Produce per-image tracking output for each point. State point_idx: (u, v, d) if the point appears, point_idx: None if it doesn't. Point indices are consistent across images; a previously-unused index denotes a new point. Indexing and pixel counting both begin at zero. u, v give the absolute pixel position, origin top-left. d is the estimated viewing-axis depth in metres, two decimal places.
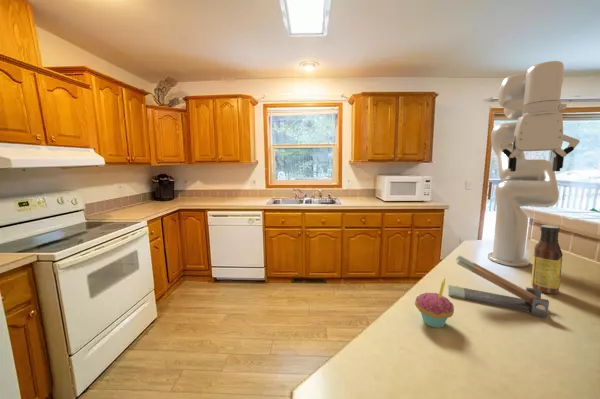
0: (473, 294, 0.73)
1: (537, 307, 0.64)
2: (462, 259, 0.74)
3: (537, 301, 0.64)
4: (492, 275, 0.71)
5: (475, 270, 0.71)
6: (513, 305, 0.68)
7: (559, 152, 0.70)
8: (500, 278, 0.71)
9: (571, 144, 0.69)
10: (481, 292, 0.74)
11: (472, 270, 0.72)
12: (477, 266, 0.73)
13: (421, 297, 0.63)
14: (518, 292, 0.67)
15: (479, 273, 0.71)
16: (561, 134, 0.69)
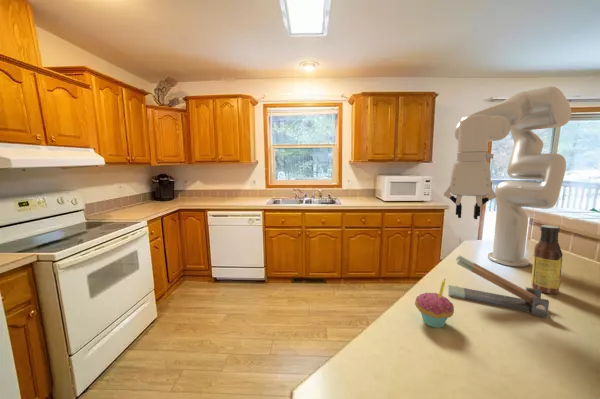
0: (473, 294, 0.73)
1: (537, 307, 0.64)
2: (462, 259, 0.74)
3: (537, 301, 0.64)
4: (492, 275, 0.71)
5: (475, 270, 0.71)
6: (513, 305, 0.68)
7: (478, 201, 0.76)
8: (500, 278, 0.71)
9: (489, 196, 0.75)
10: (481, 292, 0.74)
11: (472, 270, 0.72)
12: (477, 266, 0.73)
13: (421, 297, 0.63)
14: (518, 292, 0.67)
15: (479, 273, 0.71)
16: (488, 182, 0.73)
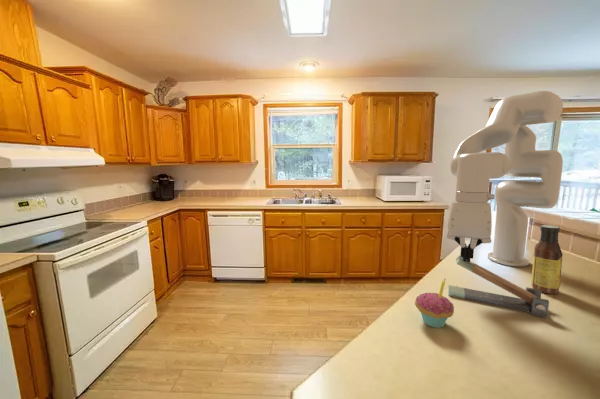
0: (473, 294, 0.73)
1: (537, 307, 0.64)
2: (462, 259, 0.74)
3: (537, 301, 0.64)
4: (492, 275, 0.71)
5: (475, 270, 0.71)
6: (513, 305, 0.68)
7: (472, 243, 0.71)
8: (500, 278, 0.71)
9: (483, 239, 0.70)
10: (481, 292, 0.74)
11: (472, 270, 0.72)
12: (477, 266, 0.73)
13: (421, 297, 0.63)
14: (518, 292, 0.67)
15: (479, 273, 0.71)
16: (489, 225, 0.68)
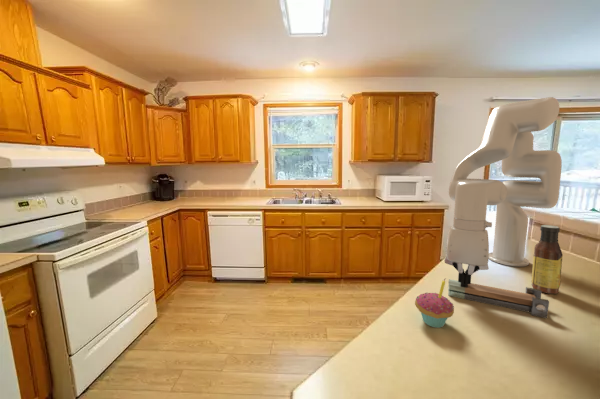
0: (473, 294, 0.73)
1: (537, 307, 0.64)
2: (452, 283, 0.76)
3: (537, 301, 0.64)
4: (485, 289, 0.72)
5: (468, 290, 0.73)
6: (513, 305, 0.68)
7: (470, 269, 0.72)
8: (494, 289, 0.72)
9: (481, 266, 0.71)
10: None
11: (465, 291, 0.73)
12: (468, 285, 0.75)
13: (421, 297, 0.63)
14: (514, 298, 0.68)
15: (472, 292, 0.72)
16: (486, 253, 0.69)
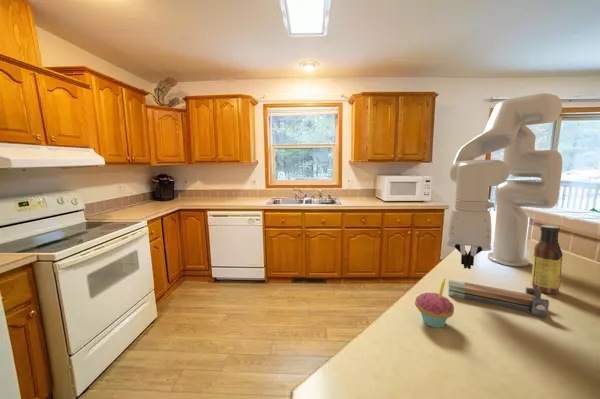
0: None
1: (537, 307, 0.64)
2: (452, 283, 0.76)
3: (537, 301, 0.64)
4: (485, 289, 0.72)
5: (468, 290, 0.73)
6: (513, 305, 0.68)
7: (472, 250, 0.72)
8: (494, 289, 0.72)
9: (483, 247, 0.71)
10: None
11: (465, 291, 0.73)
12: (468, 285, 0.75)
13: (421, 297, 0.63)
14: (514, 298, 0.68)
15: (472, 292, 0.72)
16: (489, 233, 0.69)
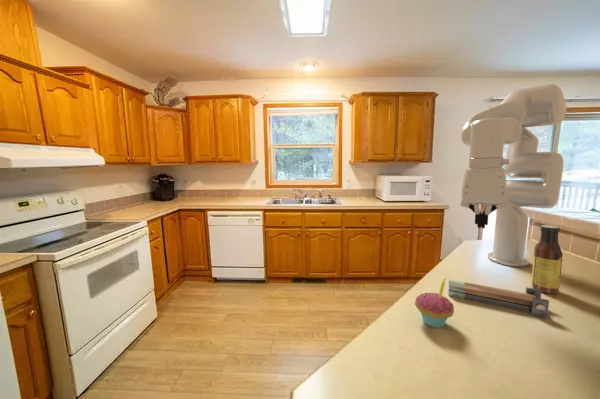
0: None
1: (537, 307, 0.64)
2: (452, 283, 0.76)
3: (537, 301, 0.64)
4: (485, 289, 0.72)
5: (468, 290, 0.73)
6: (513, 305, 0.68)
7: (487, 209, 0.72)
8: (494, 289, 0.72)
9: (498, 205, 0.71)
10: None
11: (465, 291, 0.73)
12: (468, 285, 0.75)
13: (421, 297, 0.63)
14: (514, 298, 0.68)
15: (472, 292, 0.72)
16: (504, 190, 0.69)
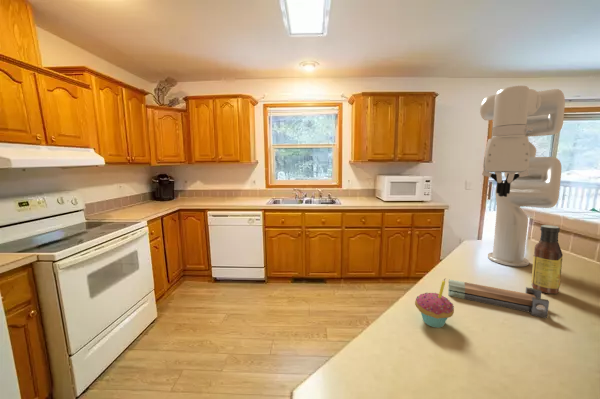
0: None
1: (537, 307, 0.64)
2: (452, 283, 0.76)
3: (537, 301, 0.64)
4: (485, 289, 0.72)
5: (468, 290, 0.73)
6: (513, 305, 0.68)
7: (509, 177, 0.73)
8: (494, 289, 0.72)
9: (520, 173, 0.72)
10: None
11: (465, 291, 0.73)
12: (468, 285, 0.75)
13: (421, 297, 0.63)
14: (514, 298, 0.68)
15: (472, 292, 0.72)
16: (527, 157, 0.70)
